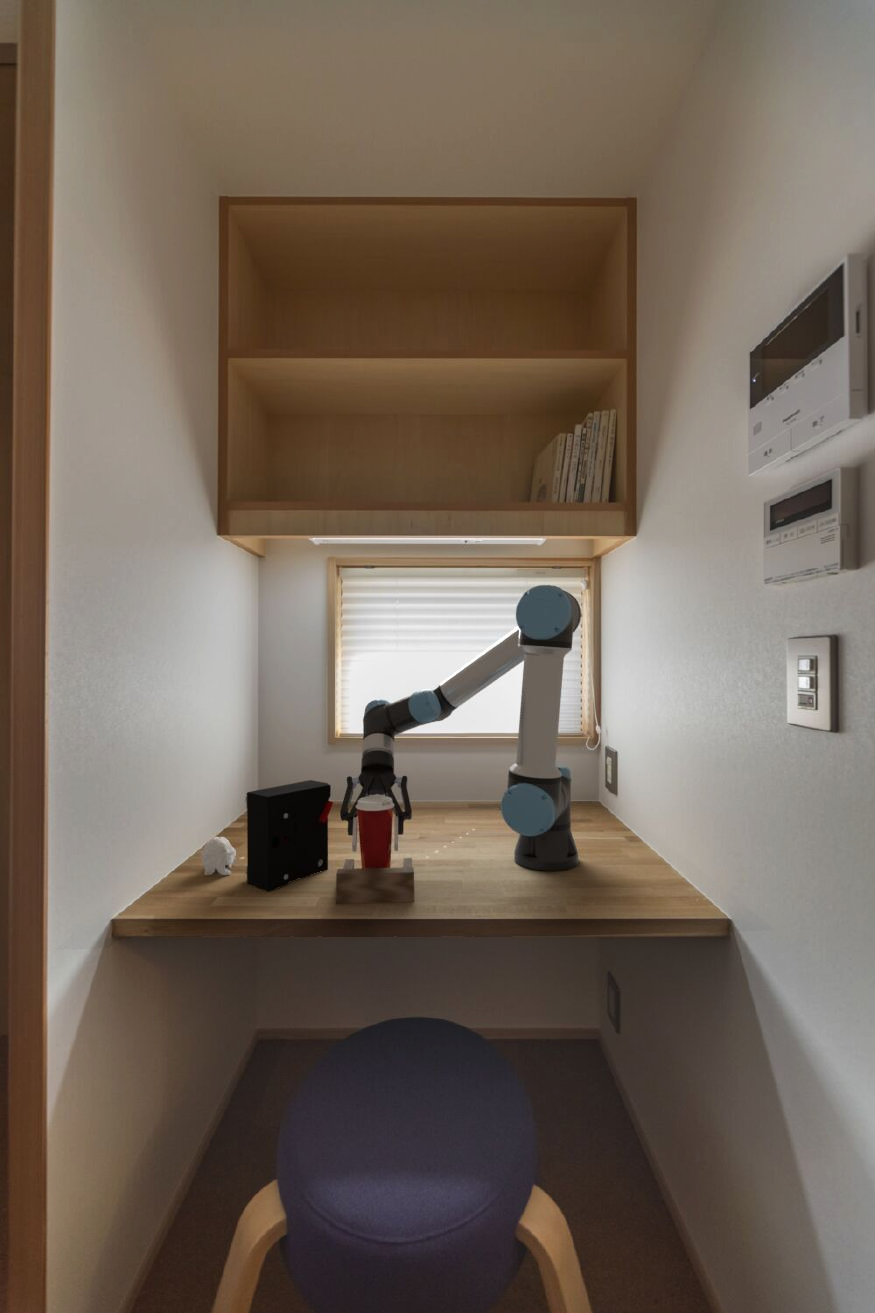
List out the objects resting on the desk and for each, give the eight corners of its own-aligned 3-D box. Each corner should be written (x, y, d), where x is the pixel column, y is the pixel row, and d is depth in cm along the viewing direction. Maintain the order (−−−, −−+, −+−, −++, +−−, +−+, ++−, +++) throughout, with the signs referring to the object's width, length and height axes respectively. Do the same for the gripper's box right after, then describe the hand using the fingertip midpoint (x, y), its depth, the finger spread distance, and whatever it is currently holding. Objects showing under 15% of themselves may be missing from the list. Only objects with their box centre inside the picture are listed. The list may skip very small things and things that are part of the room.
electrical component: (305, 862, 157) (304, 778, 157) (333, 871, 151) (333, 784, 151) (241, 882, 144) (241, 790, 144) (270, 892, 137) (269, 797, 137)
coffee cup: (403, 869, 140) (402, 798, 140) (374, 879, 134) (373, 805, 134) (377, 860, 146) (376, 793, 146) (348, 870, 140) (347, 799, 140)
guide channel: (412, 866, 154) (412, 841, 154) (414, 902, 132) (414, 872, 132) (345, 867, 153) (345, 842, 153) (336, 903, 131) (336, 873, 131)
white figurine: (199, 839, 146) (218, 830, 158) (198, 879, 145) (216, 866, 157) (227, 839, 146) (244, 830, 158) (226, 879, 145) (243, 866, 157)
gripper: (422, 767, 156) (424, 855, 140) (334, 768, 155) (326, 857, 139) (423, 748, 150) (425, 838, 134) (331, 749, 149) (323, 839, 133)
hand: (375, 848), depth 137 cm, fingers closed on coffee cup, 8 cm apart
